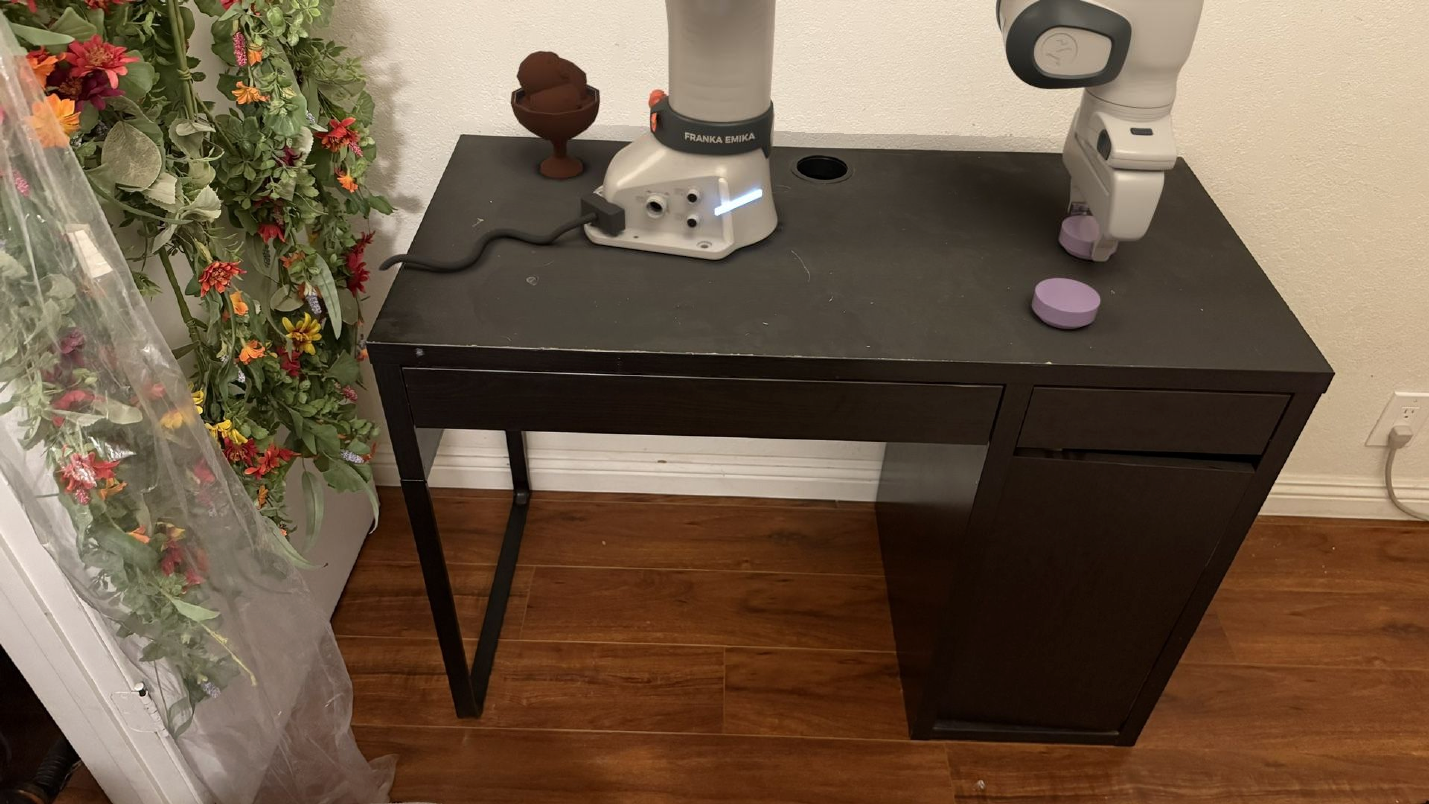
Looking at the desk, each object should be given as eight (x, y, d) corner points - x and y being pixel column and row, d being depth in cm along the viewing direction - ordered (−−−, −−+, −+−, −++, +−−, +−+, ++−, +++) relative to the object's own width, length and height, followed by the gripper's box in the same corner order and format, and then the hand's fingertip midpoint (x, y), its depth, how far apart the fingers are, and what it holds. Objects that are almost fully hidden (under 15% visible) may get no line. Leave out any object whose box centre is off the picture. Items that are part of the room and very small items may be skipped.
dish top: (1064, 262, 110) (1070, 241, 109) (1050, 234, 115) (1056, 214, 114) (1122, 264, 110) (1128, 243, 109) (1106, 236, 115) (1112, 216, 114)
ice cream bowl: (591, 192, 121) (583, 70, 112) (504, 182, 123) (489, 61, 113) (615, 155, 129) (610, 39, 120) (533, 146, 131) (522, 31, 121)
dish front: (1037, 332, 99) (1043, 310, 98) (1023, 297, 104) (1029, 276, 103) (1101, 334, 99) (1108, 313, 98) (1084, 300, 104) (1091, 278, 103)
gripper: (1066, 80, 111) (1037, 192, 120) (1118, 159, 95) (1081, 282, 104) (1122, 82, 111) (1090, 195, 120) (1184, 162, 95) (1141, 285, 104)
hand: (1086, 236), depth 112 cm, fingers open, 8 cm apart
